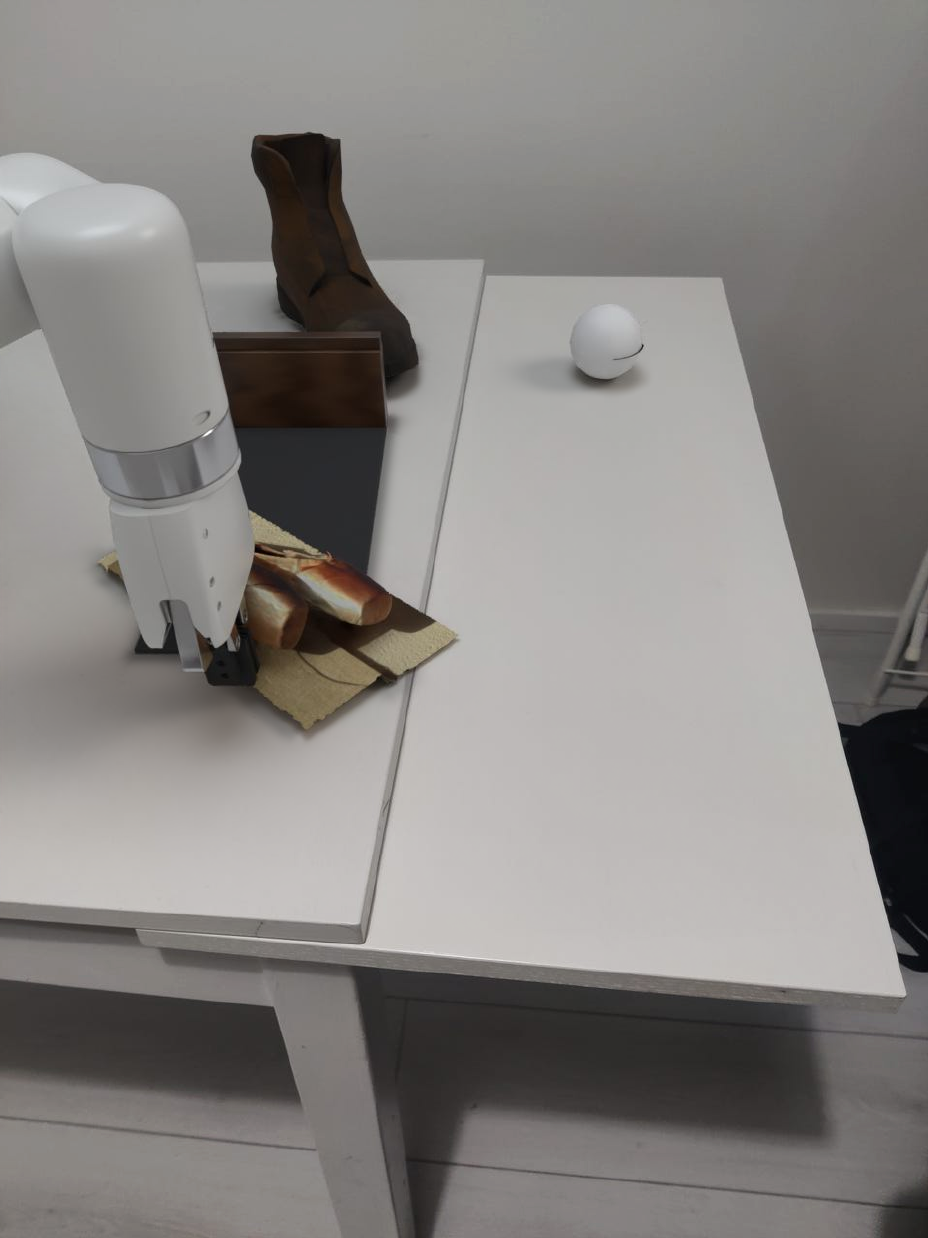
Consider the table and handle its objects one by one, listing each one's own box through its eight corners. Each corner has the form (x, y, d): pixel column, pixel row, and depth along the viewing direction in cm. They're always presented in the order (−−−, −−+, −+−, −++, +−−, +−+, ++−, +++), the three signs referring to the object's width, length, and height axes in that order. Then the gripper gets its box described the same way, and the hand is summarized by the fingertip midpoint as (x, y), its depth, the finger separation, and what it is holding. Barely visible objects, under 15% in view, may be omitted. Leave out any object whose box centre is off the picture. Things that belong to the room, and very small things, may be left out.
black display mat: (135, 653, 63) (134, 650, 63) (221, 430, 84) (220, 427, 84) (355, 653, 63) (355, 650, 63) (386, 430, 84) (386, 427, 84)
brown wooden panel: (221, 429, 85) (200, 339, 78) (225, 418, 86) (205, 329, 80) (386, 428, 84) (379, 339, 78) (388, 417, 86) (381, 329, 79)
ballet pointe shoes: (312, 688, 52) (51, 508, 65) (328, 753, 57) (81, 574, 69) (459, 565, 59) (197, 426, 72) (462, 633, 64) (216, 490, 77)
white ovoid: (595, 400, 88) (602, 330, 83) (553, 368, 92) (557, 301, 87) (673, 374, 91) (684, 306, 86) (629, 345, 96) (637, 279, 91)
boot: (350, 411, 87) (326, 201, 73) (257, 296, 106) (223, 112, 92) (449, 384, 90) (444, 179, 76) (341, 277, 109) (322, 97, 95)
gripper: (135, 375, 52) (206, 602, 65) (43, 532, 41) (149, 767, 54) (261, 374, 52) (307, 602, 64) (201, 531, 41) (270, 767, 54)
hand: (235, 676), depth 59 cm, fingers closed
